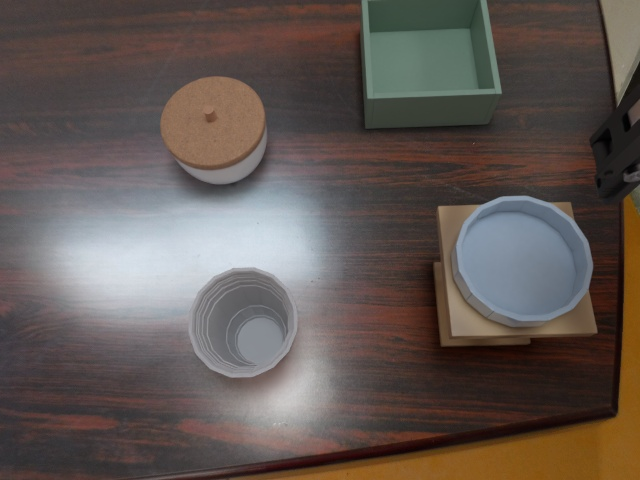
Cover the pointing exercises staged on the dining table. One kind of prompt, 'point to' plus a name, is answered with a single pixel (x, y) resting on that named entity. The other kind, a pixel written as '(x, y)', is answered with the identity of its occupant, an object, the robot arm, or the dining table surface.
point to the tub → (427, 63)
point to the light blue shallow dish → (521, 261)
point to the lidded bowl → (215, 129)
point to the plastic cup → (242, 322)
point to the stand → (468, 323)
